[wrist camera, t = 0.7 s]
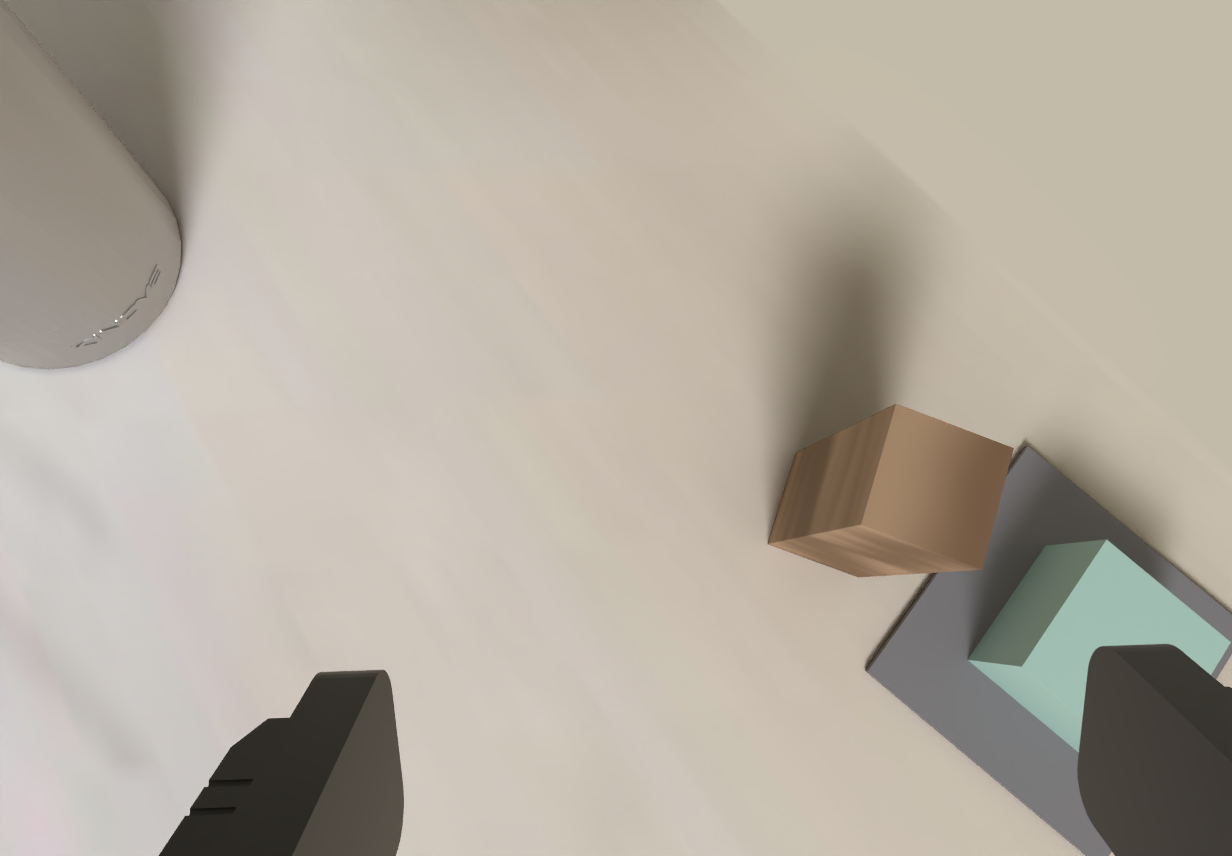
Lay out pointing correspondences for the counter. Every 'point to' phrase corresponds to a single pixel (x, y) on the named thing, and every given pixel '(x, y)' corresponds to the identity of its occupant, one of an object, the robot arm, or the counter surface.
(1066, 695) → the plinth
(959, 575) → the mat
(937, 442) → the pillar
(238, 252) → the counter surface
